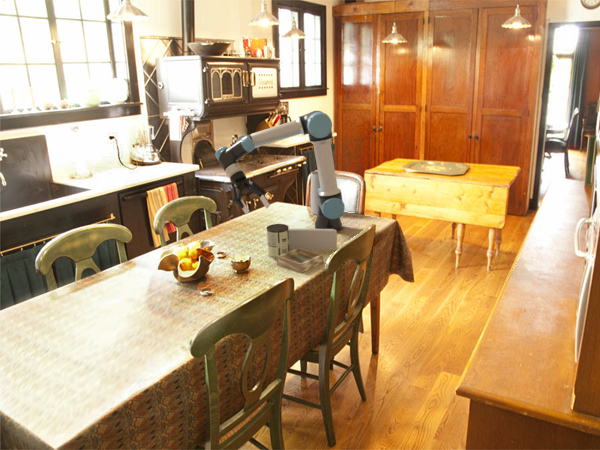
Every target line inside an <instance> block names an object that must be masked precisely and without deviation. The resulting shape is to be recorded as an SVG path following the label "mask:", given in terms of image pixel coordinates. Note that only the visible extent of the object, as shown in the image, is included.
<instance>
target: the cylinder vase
mask: <svg viewBox="0 0 600 450" xmlns="http://www.w3.org/2000/svg"><path fill="white" fill-rule="evenodd" d="M319 188H321V187H320V181H319V175H318V170H314V171H311V172H310V205H311V208H310V209H311V211H310V212H311V214H313V215H315V216H318V194H317V193H318V189H319Z"/></svg>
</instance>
